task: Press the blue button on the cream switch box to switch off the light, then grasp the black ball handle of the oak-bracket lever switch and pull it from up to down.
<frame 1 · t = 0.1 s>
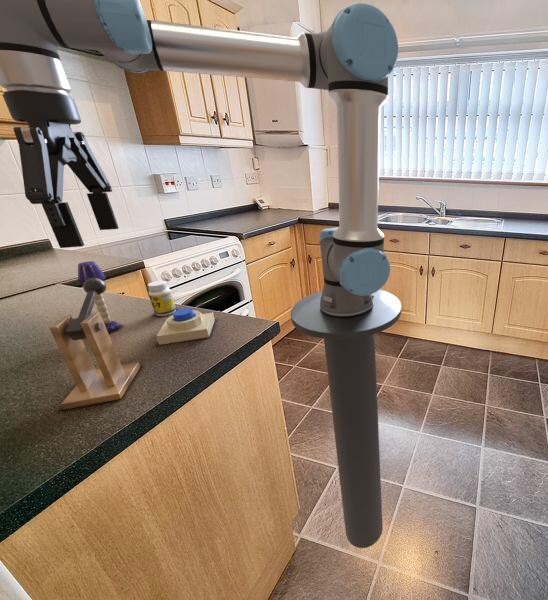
hand: (93, 237, 57), 26 cm above the table, tool pointing down, fingers open, 13 cm apart
switch lever: (87, 306, 59), point 14 cm above the table, hinge at 25.0°
supplement bottle: (166, 313, 90), on the table
switch button: (183, 315, 78), point 4 cm above the table, slide at 0.1 cm
toy lamp: (112, 329, 81), on the table
button box: (188, 331, 80), on the table
lever bracket: (105, 386, 61), on the table
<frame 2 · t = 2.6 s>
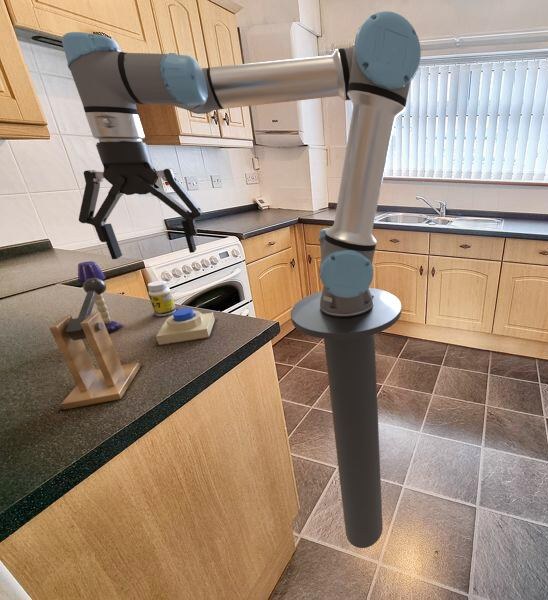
hand: (156, 254, 70), 20 cm above the table, tool pointing down, fingers open, 13 cm apart
nothing on the table moved.
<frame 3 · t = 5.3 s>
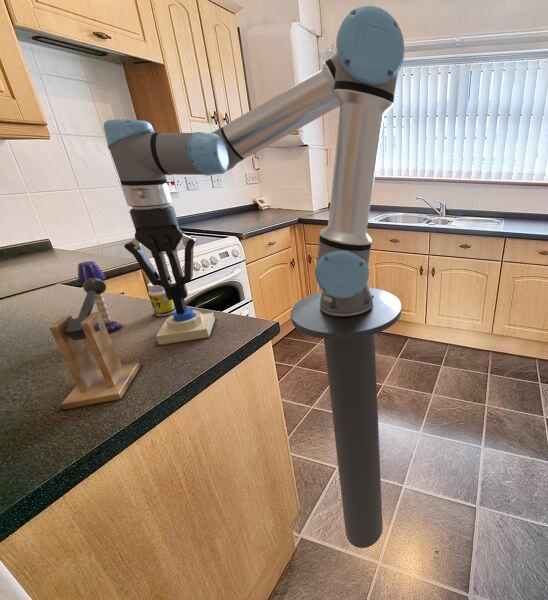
hand: (182, 311, 77), 5 cm above the table, tool pointing down, fingers closed
switch button: (183, 315, 78), point 4 cm above the table, slide at -0.1 cm, touching gripper
everything else where it was.
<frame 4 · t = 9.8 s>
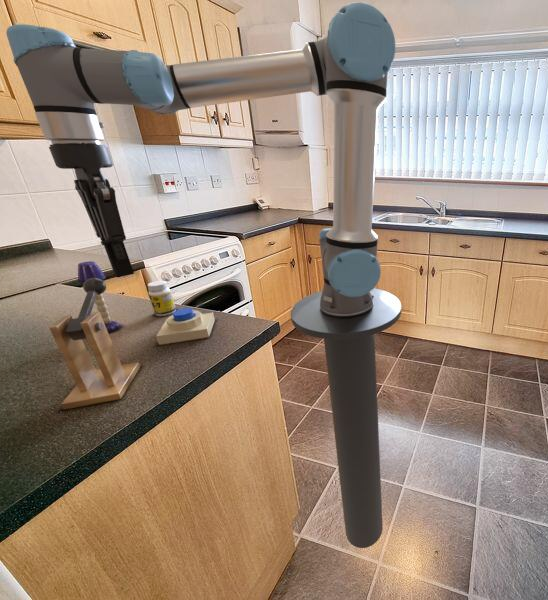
hand: (124, 274, 66), 17 cm above the table, tool pointing down, fingers closed
switch button: (183, 315, 78), point 4 cm above the table, slide at 0.1 cm
everything else where it was.
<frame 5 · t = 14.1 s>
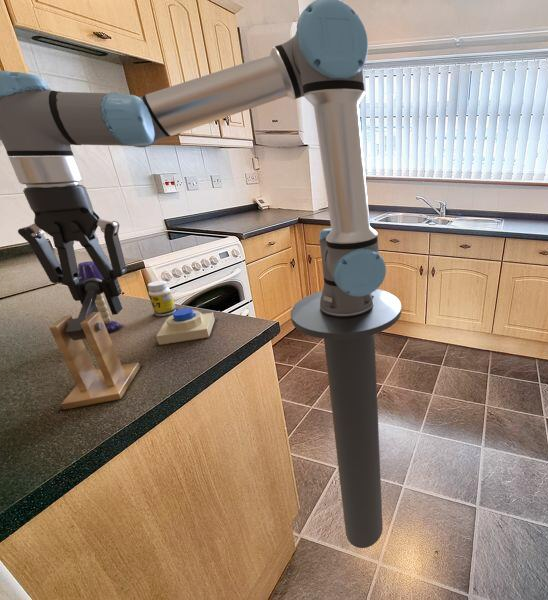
hand: (105, 312, 65), 11 cm above the table, tool pointing down, fingers closed on switch lever, 3 cm apart
switch lever: (87, 306, 59), point 14 cm above the table, hinge at 25.0°, touching gripper
everything else where it was.
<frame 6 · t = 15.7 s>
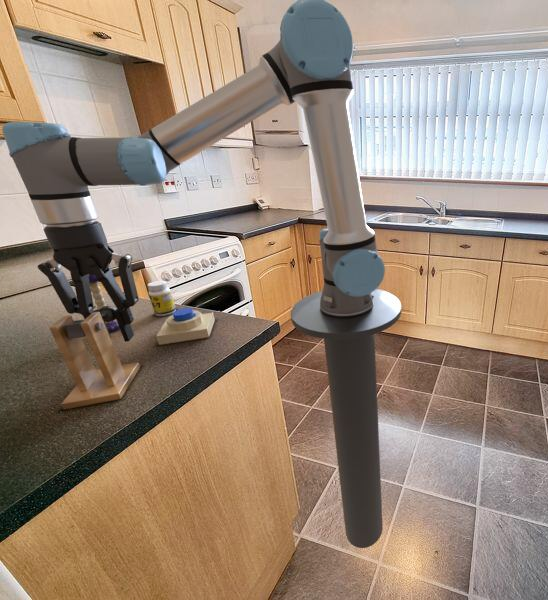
hand: (118, 339, 68), 4 cm above the table, tool pointing down, fingers closed on switch lever, 3 cm apart
switch lever: (95, 320, 61), point 11 cm above the table, hinge at -10.2°, touching gripper
everything else where it was.
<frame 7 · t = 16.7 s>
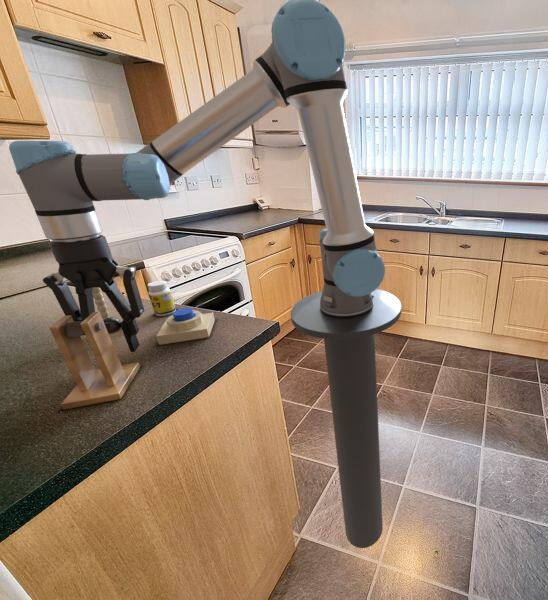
hand: (121, 350, 69), 2 cm above the table, tool pointing down, fingers open, 4 cm apart
switch lever: (96, 326, 61), point 10 cm above the table, hinge at -23.3°
everything else where it was.
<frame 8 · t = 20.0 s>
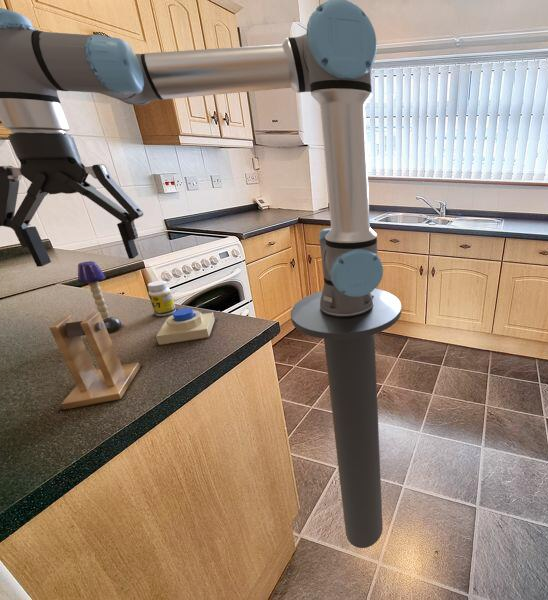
hand: (90, 260, 62), 21 cm above the table, tool pointing down, fingers open, 13 cm apart
nothing on the table moved.
at the end: switch button pushed in 1.0 cm at the most during the clip, back to where it started at the end; switch button slide at 0.1 cm; switch lever at -23° (first picture: +25°) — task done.
